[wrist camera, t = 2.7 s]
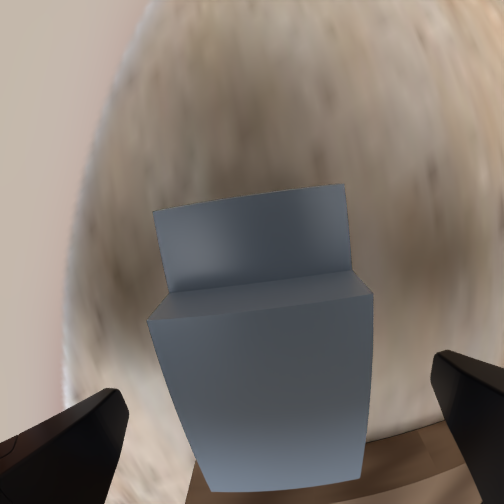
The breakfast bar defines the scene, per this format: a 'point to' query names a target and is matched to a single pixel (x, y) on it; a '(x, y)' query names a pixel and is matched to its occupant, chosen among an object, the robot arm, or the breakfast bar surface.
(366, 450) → the brown rectangular block
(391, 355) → the breakfast bar surface
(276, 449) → the block
